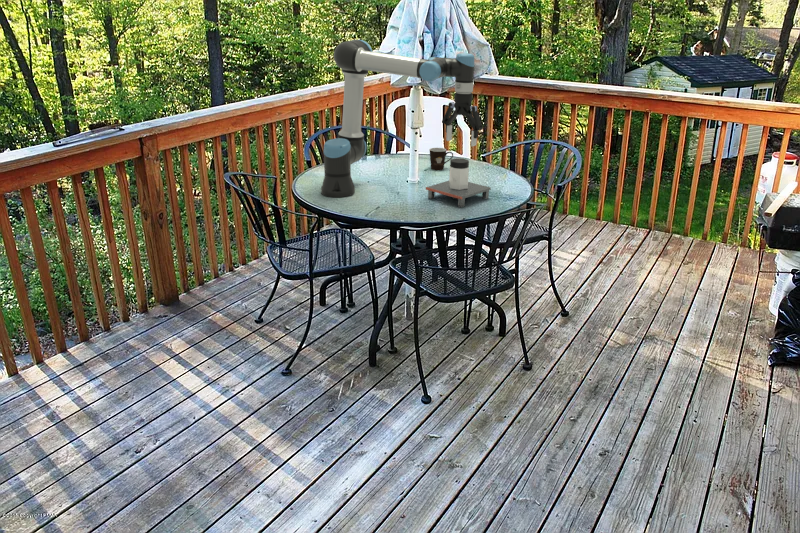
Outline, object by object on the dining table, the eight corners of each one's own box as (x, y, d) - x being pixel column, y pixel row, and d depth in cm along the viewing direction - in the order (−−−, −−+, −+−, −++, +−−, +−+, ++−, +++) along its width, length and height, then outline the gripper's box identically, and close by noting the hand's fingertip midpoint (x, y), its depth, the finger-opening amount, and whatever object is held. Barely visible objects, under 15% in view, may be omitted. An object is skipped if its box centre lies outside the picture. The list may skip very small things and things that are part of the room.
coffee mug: (427, 170, 335) (427, 150, 331) (431, 166, 343) (431, 147, 339) (449, 172, 332) (450, 152, 328) (453, 168, 340) (453, 148, 336)
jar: (445, 188, 289) (446, 161, 284) (452, 183, 296) (454, 157, 291) (463, 191, 285) (465, 163, 280) (471, 186, 292) (472, 159, 287)
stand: (425, 198, 292) (425, 187, 290) (455, 189, 305) (455, 178, 303) (460, 208, 279) (461, 197, 277) (490, 198, 293) (490, 187, 291)
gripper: (435, 89, 280) (433, 139, 288) (482, 97, 264) (478, 149, 272) (446, 88, 285) (444, 137, 293) (493, 95, 269) (489, 146, 277)
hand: (461, 143), depth 283 cm, fingers open, 13 cm apart
